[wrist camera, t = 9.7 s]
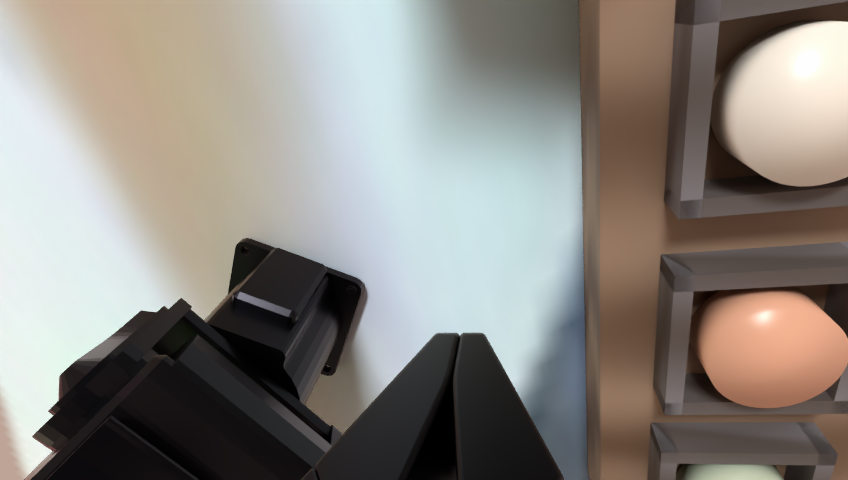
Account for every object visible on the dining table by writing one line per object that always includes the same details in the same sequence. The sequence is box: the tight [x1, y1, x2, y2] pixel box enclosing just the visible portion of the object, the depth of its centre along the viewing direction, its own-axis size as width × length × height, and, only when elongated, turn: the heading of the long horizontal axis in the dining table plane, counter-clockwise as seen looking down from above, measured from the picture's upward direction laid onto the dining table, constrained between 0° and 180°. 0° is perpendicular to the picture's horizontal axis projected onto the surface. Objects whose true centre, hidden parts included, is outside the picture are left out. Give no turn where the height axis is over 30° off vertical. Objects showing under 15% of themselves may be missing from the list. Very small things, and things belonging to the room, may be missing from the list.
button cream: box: [710, 20, 848, 186], centre depth 13 cm, size 4×4×2 cm
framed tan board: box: [579, 0, 848, 480], centre depth 18 cm, size 26×10×6 cm, turn 9°
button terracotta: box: [689, 286, 848, 408], centre depth 16 cm, size 4×4×2 cm
